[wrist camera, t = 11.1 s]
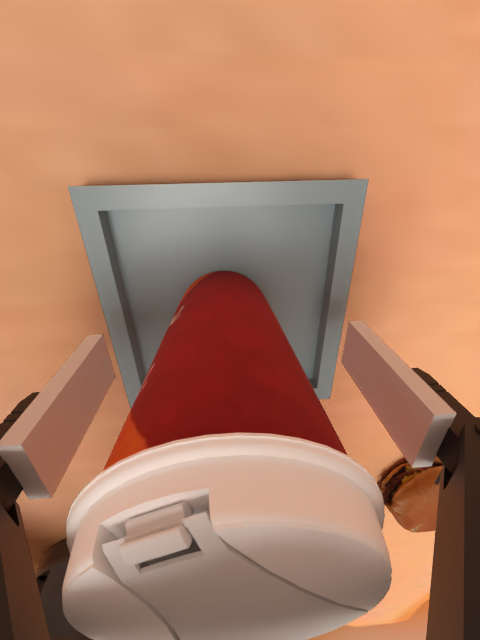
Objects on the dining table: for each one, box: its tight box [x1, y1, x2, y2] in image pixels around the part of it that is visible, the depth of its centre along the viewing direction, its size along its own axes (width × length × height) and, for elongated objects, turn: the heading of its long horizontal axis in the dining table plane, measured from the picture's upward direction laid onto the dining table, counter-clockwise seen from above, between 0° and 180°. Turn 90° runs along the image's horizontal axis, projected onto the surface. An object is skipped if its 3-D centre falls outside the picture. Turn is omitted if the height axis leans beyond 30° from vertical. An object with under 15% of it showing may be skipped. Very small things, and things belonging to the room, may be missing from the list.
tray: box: [68, 179, 369, 408], centre depth 19 cm, size 16×16×2 cm
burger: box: [381, 456, 444, 532], centre depth 30 cm, size 10×9×5 cm
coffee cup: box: [62, 271, 392, 640], centre depth 13 cm, size 8×8×15 cm
